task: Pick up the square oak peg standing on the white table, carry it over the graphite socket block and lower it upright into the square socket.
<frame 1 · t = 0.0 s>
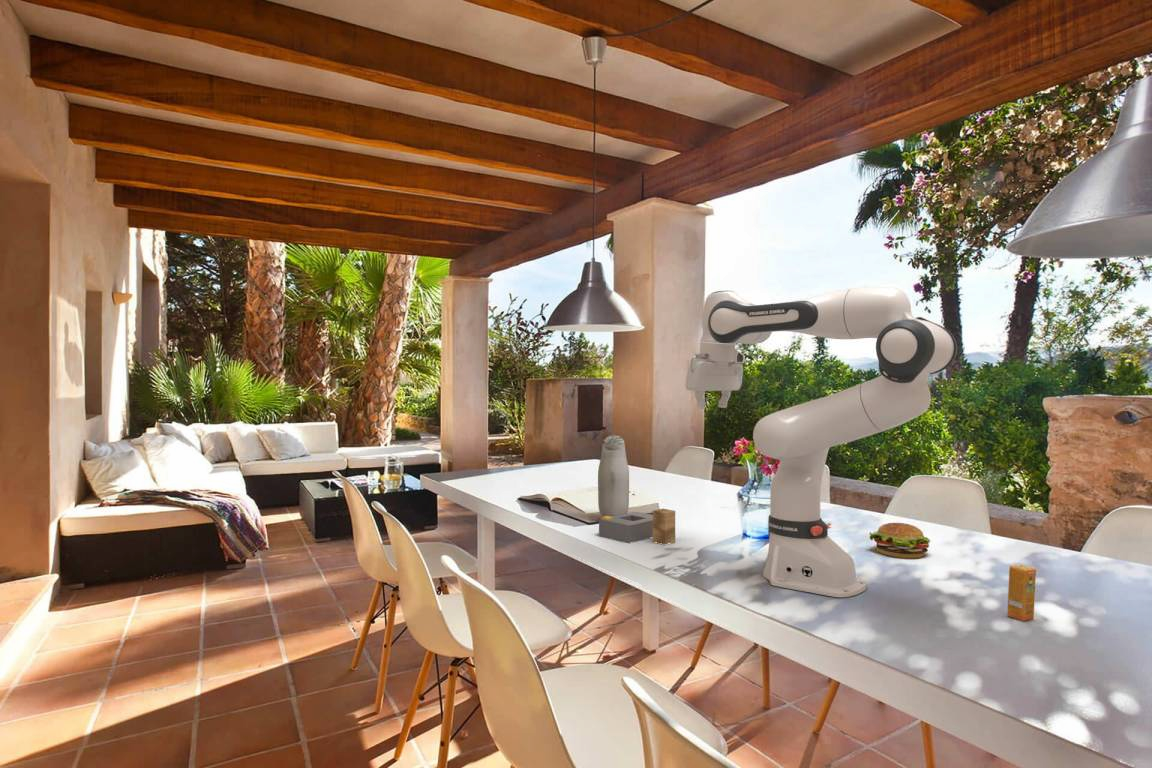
hand: (711, 408, 169), 39 cm above the table, tool pointing down, fingers open, 8 cm apart
gray bottle: (613, 521, 214), on the table
food: (898, 553, 175), on the table
oak peg: (664, 542, 186), on the table
socket block: (632, 534, 195), on the table
supplement box: (1021, 619, 127), on the table
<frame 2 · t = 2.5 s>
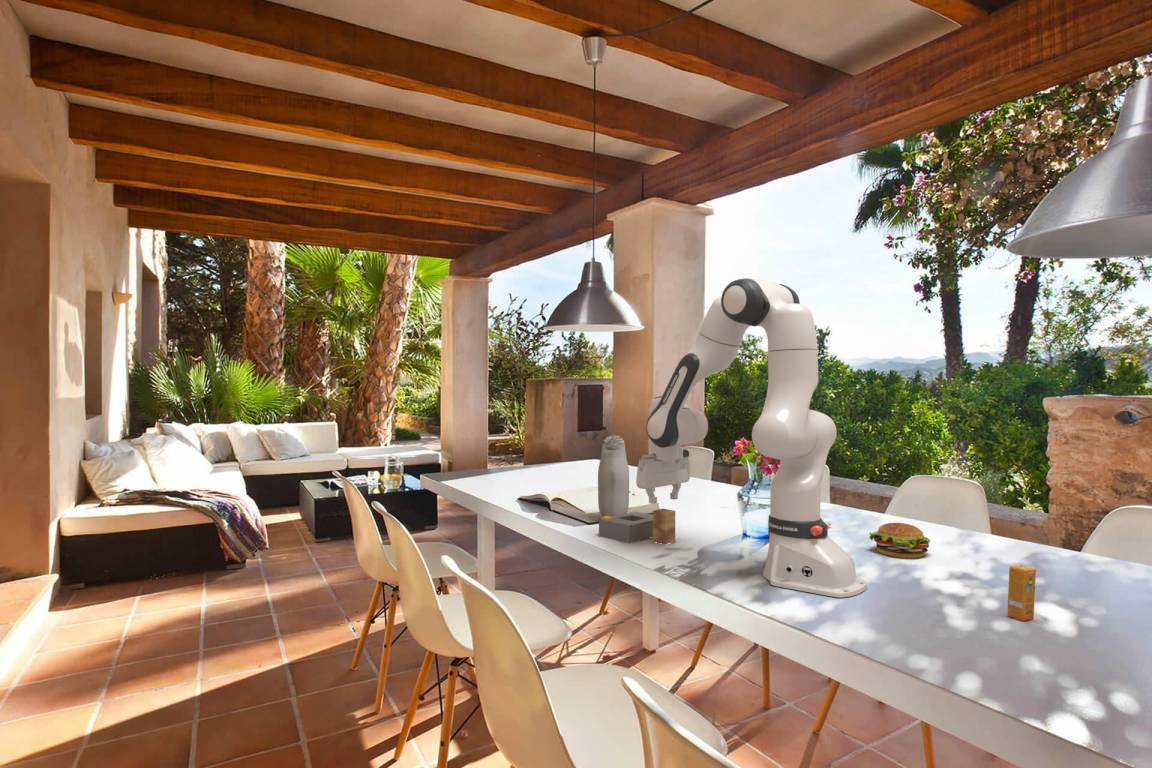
hand: (663, 501, 186), 12 cm above the table, tool pointing down, fingers open, 8 cm apart
nothing on the table moved.
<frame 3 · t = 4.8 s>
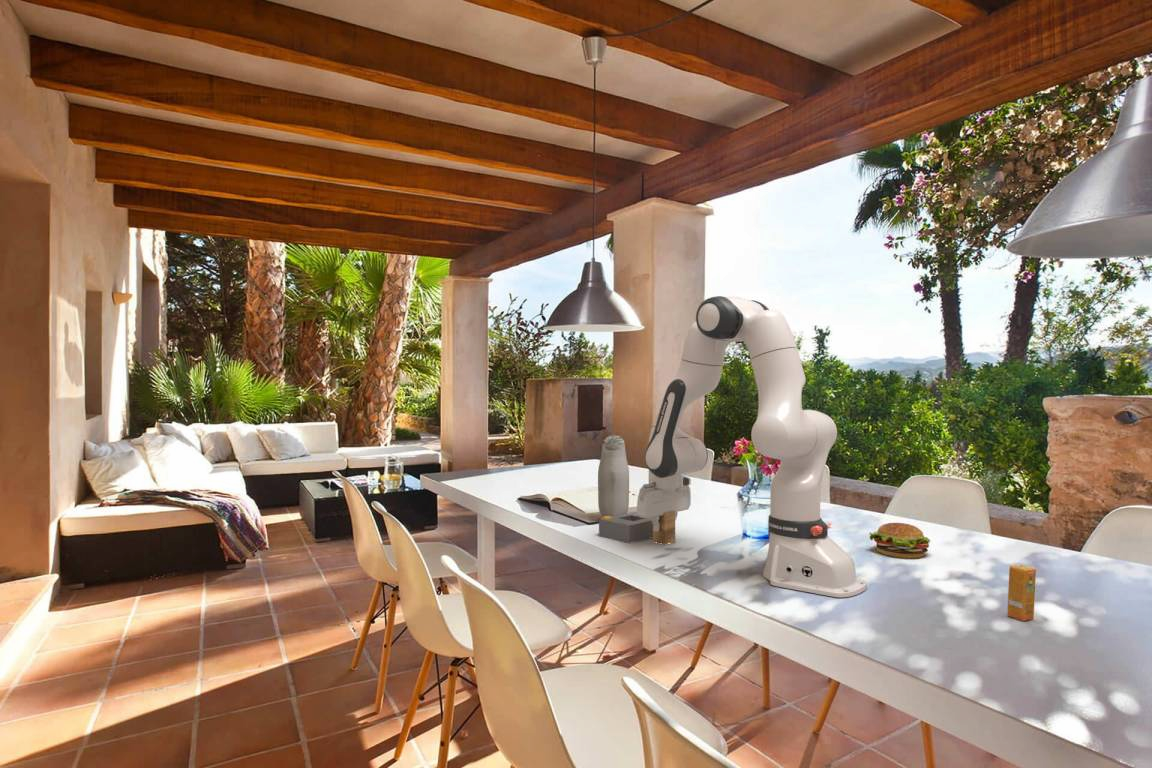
hand: (664, 529, 186), 4 cm above the table, tool pointing down, fingers closed on oak peg, 4 cm apart
oak peg: (664, 542, 186), on the table, touching gripper
everything else where it was.
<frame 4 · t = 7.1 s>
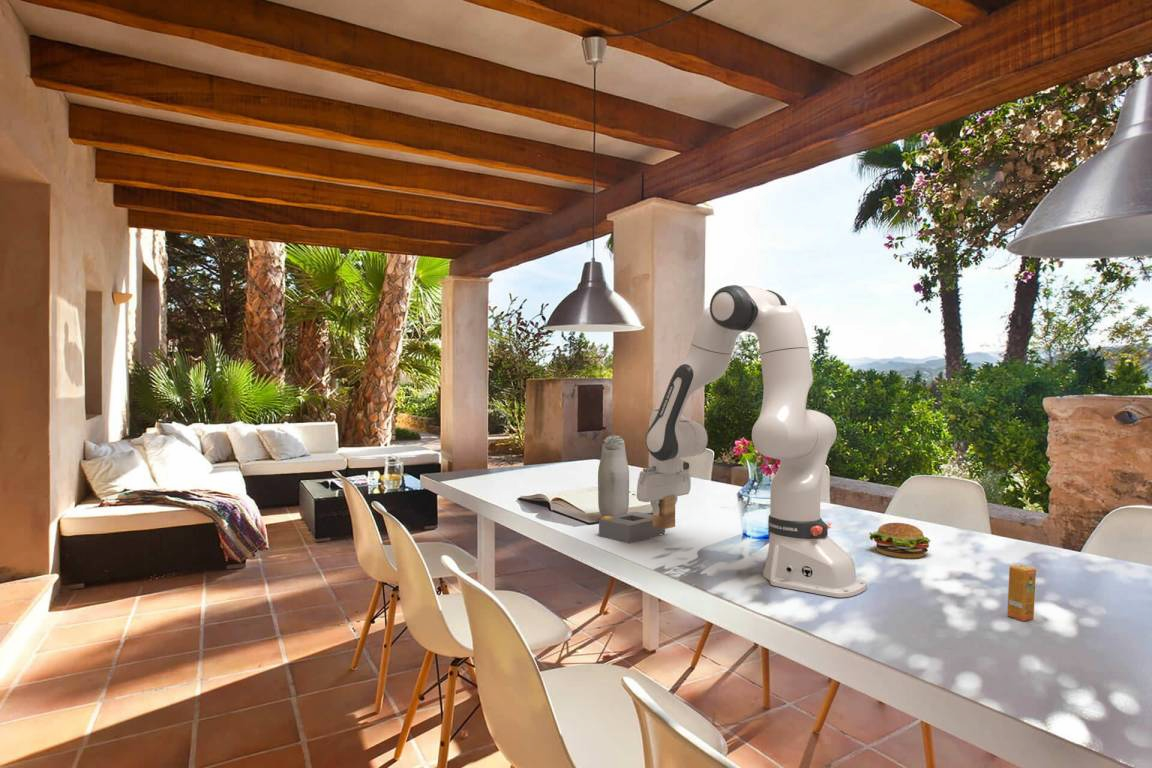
hand: (664, 513, 186), 8 cm above the table, tool pointing down, fingers closed on oak peg, 4 cm apart
oak peg: (663, 526, 186), point 4 cm above the table, touching gripper
everything else where it was.
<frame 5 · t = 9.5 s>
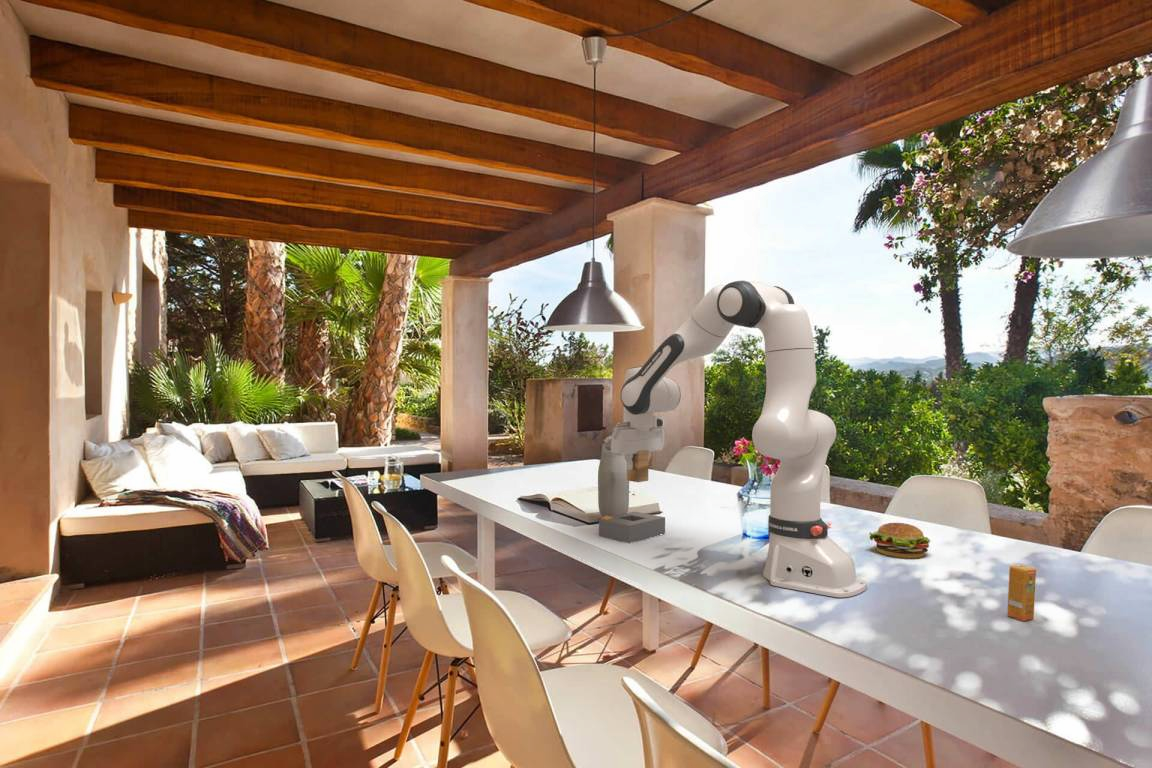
hand: (637, 468, 193), 20 cm above the table, tool pointing down, fingers closed on oak peg, 4 cm apart
oak peg: (637, 480, 193), point 16 cm above the table, touching gripper
everything else where it was.
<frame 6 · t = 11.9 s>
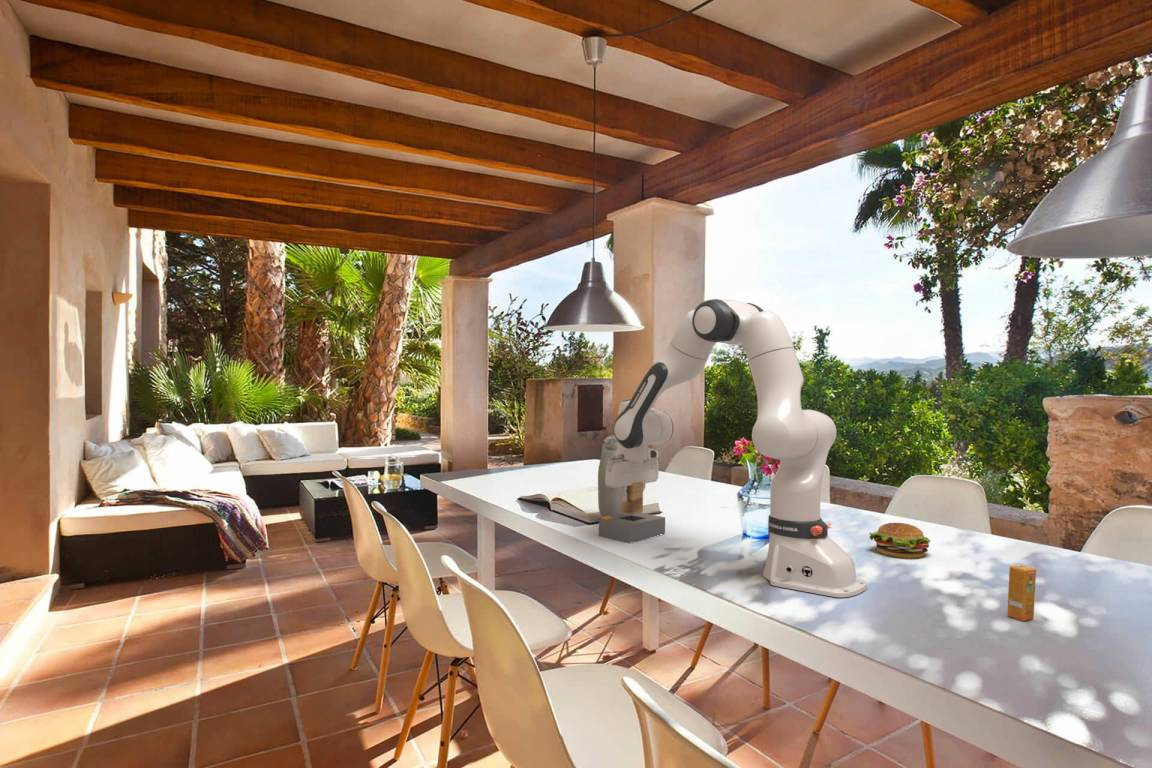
hand: (632, 499, 195), 10 cm above the table, tool pointing down, fingers closed on oak peg, 4 cm apart
oak peg: (632, 512, 195), point 7 cm above the table, touching gripper
everything else where it was.
when the fingers open (6 cm above the table, at t = 14.1 s): oak peg drops 1 cm, resting on socket block.
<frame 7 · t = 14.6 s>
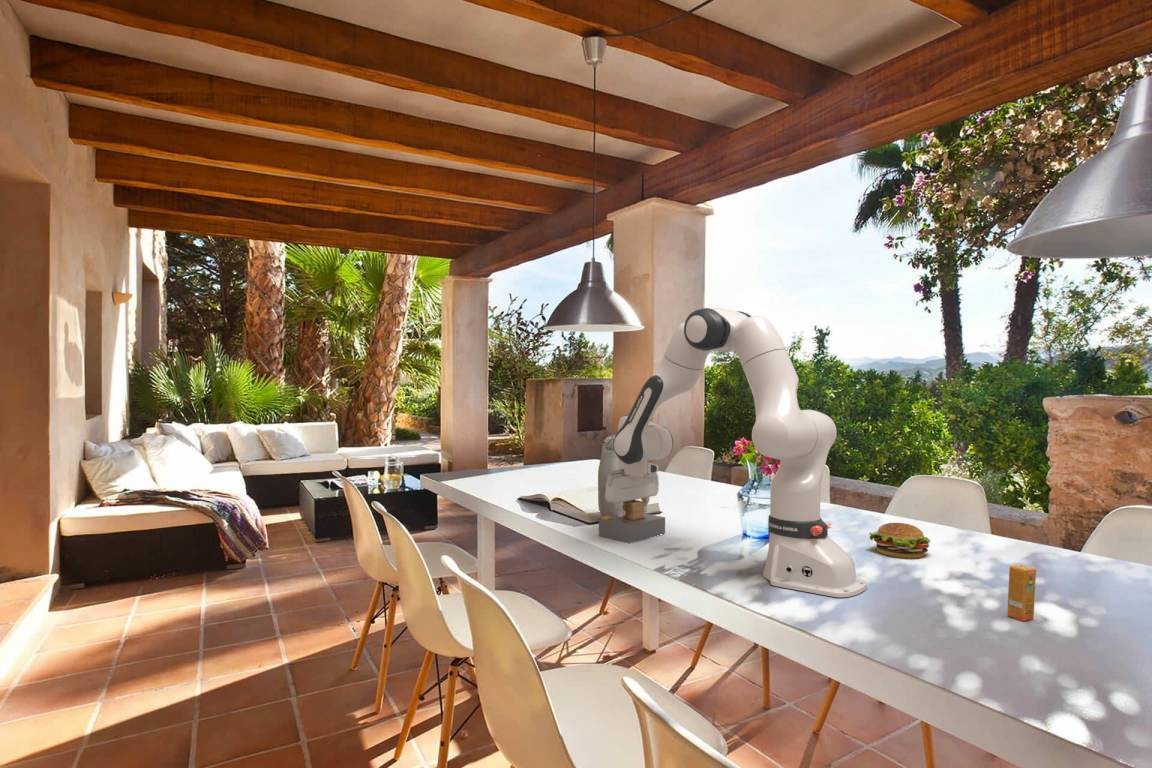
hand: (632, 514, 195), 6 cm above the table, tool pointing down, fingers open, 8 cm apart
oak peg: (632, 531, 195), point 1 cm above the table, touching socket block
everything else where it was.
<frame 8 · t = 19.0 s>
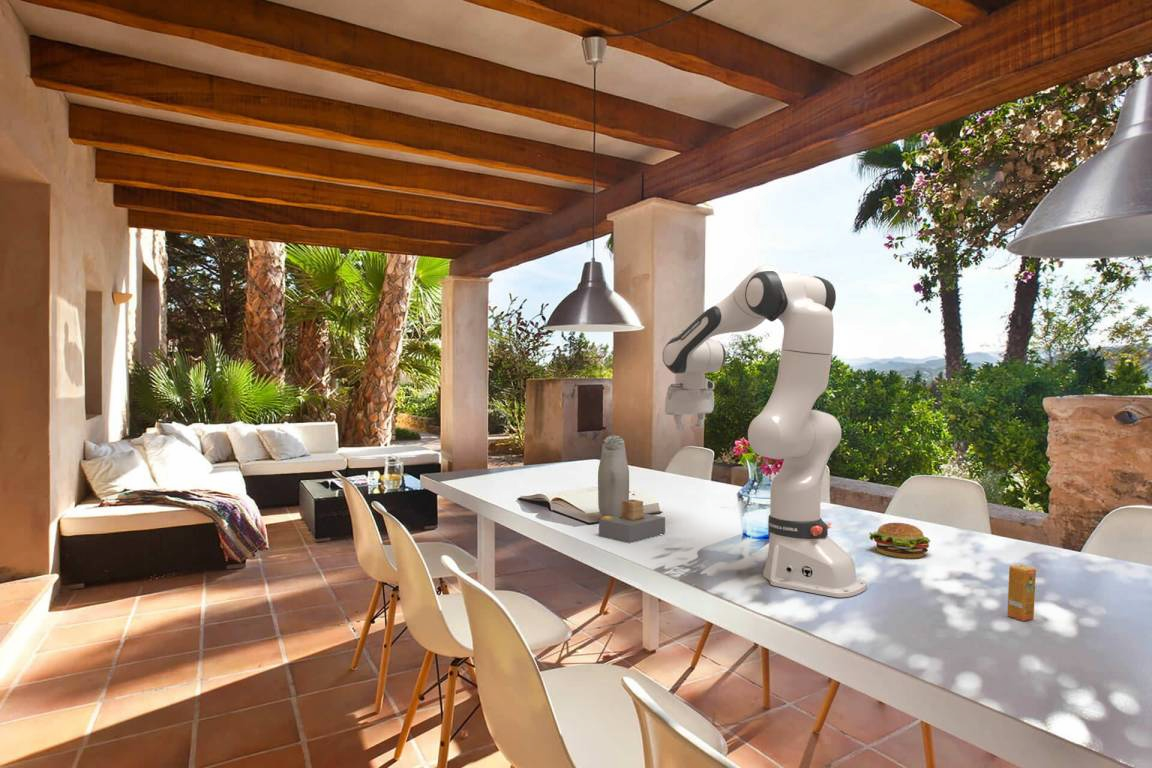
hand: (689, 429, 199), 31 cm above the table, tool pointing down, fingers open, 8 cm apart
nothing on the table moved.
at the end: oak peg 0.0 cm off-centre on the socket block, point 1.0 cm above the socket block's base; oak peg tilted 0°; the gripper is holding nothing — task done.
